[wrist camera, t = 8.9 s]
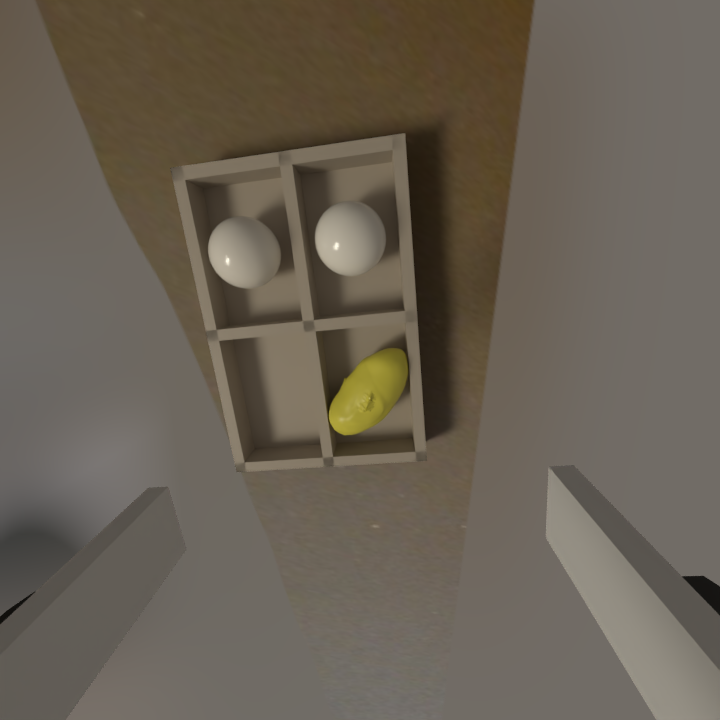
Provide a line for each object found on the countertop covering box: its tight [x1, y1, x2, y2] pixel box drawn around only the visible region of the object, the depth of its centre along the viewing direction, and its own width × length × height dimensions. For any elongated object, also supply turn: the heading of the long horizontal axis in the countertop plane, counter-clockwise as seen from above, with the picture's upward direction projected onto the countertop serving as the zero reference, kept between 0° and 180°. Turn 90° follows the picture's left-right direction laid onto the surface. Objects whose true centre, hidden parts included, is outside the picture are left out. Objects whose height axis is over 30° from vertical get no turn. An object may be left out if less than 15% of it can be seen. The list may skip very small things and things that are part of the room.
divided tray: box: [170, 133, 427, 472], centre depth 25 cm, size 22×15×3 cm
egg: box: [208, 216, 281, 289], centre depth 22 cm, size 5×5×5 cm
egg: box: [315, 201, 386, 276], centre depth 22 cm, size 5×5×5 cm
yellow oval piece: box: [329, 348, 408, 435], centre depth 24 cm, size 4×8×4 cm, turn 139°
